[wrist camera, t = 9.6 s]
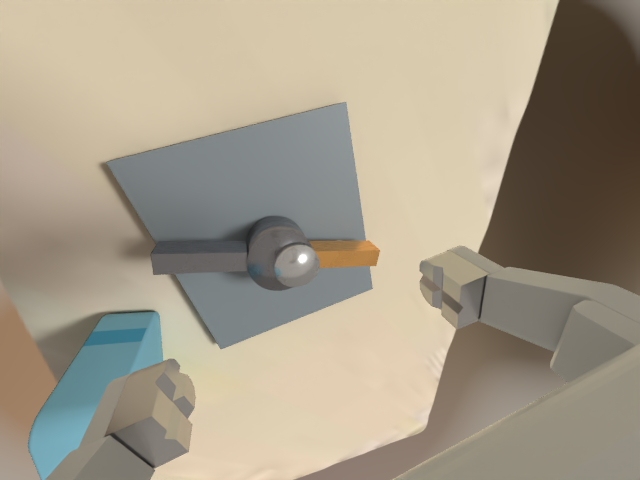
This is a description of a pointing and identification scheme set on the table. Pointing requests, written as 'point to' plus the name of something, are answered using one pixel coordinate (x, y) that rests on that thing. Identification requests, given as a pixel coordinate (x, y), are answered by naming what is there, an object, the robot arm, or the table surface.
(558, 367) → the robot arm
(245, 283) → the stand
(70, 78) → the table surface
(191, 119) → the table surface
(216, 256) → the bar with grey ball
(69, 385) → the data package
